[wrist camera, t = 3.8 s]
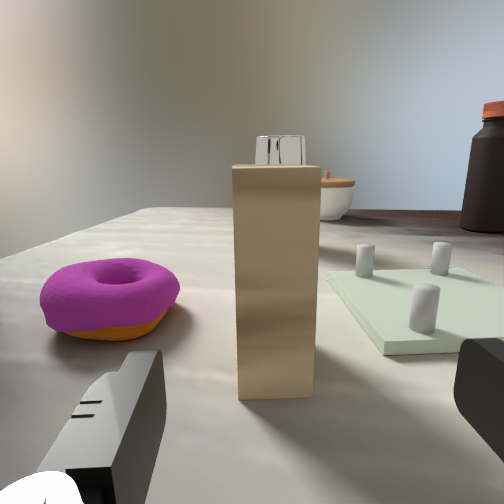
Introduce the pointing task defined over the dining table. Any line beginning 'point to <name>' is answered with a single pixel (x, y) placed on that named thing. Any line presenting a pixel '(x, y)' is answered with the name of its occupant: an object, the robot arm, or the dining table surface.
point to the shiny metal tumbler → (280, 150)
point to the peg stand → (420, 304)
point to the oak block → (276, 277)
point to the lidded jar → (335, 197)
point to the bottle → (486, 175)
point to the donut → (108, 298)
